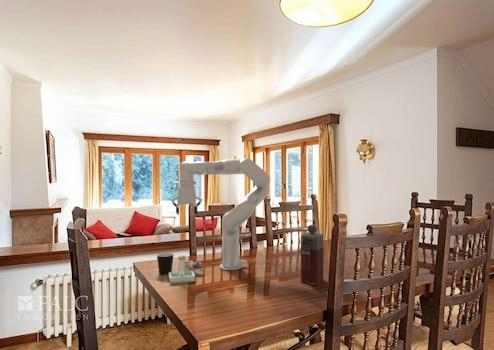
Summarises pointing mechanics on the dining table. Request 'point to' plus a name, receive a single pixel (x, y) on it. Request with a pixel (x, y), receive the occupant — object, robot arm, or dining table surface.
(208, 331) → the dining table surface
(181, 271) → the pin
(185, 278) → the tray
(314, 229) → the dark red bottle
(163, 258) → the coffee mug
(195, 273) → the pulley block
